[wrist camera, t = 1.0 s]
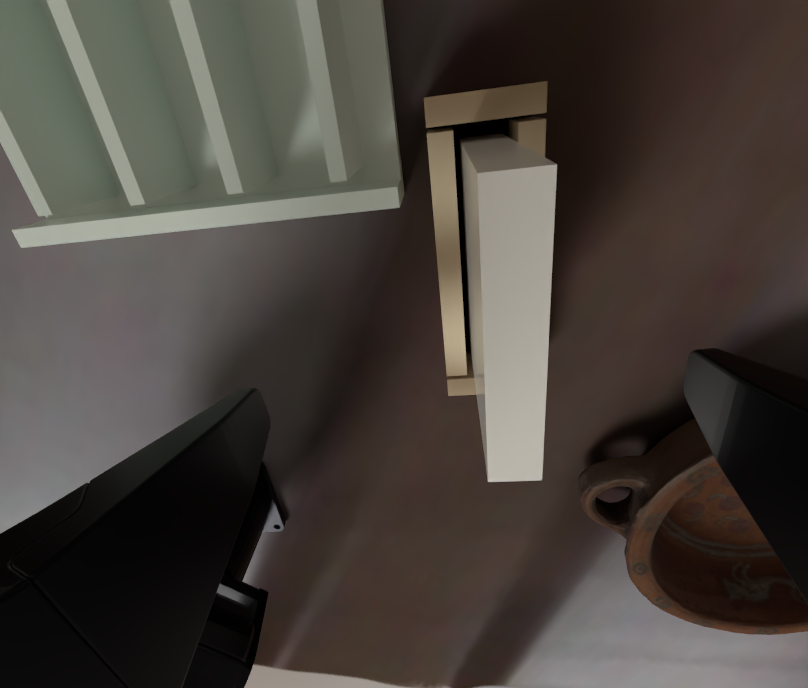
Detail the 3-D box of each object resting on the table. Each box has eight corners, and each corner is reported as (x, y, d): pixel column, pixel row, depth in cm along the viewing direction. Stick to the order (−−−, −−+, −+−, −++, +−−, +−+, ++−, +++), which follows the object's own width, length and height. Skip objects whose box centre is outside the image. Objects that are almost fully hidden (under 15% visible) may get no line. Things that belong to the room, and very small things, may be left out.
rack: (404, 193, 20) (395, 219, 16) (70, 230, 22) (-20, 262, 18) (351, -281, 13) (309, -465, 9) (-122, -167, 15) (-344, -272, 11)
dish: (882, 566, 30) (957, 644, 26) (555, 561, 32) (574, 632, 28) (1043, 348, 22) (1193, 410, 18) (586, 360, 24) (618, 418, 20)
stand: (527, 364, 24) (536, 391, 22) (447, 369, 25) (448, 395, 22) (534, 83, 18) (547, 80, 15) (425, 97, 18) (423, 97, 16)
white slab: (503, 338, 23) (542, 480, 15) (469, 341, 24) (487, 482, 15) (501, 133, 19) (557, 163, 10) (458, 138, 19) (477, 173, 10)
